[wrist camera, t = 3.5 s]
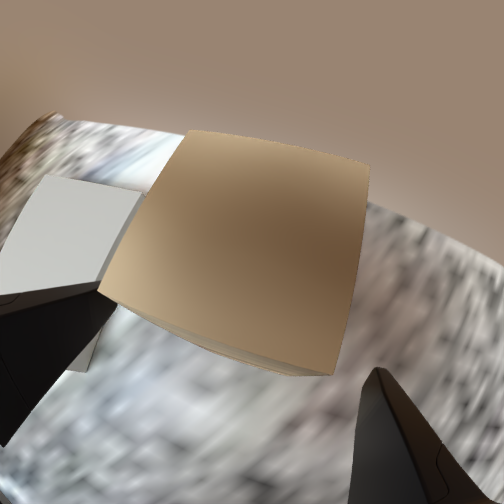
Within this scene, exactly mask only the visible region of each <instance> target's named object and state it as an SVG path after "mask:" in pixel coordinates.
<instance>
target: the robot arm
mask: <svg viewBox="0 0 504 504" xmlns="http://www.w3.org/2000/svg"><path fill="white" fill-rule="evenodd" d="M101 281H102V280H100V281H93V282H87V283H80V284H73V285H67V286H60V287H53V288H46V289H40V290H33V291H26V292H19V293H12V294H4V295H0V445H1V446H2V447H3V448H4V447H5V446H6V445H7V443H8V442H9V441H10V439H11V438H12V437H13V435H14V434H15V432H16V431H17V430H18V428H19V427H20V426H21V425H22V423H23V422H24V421H25V419H26V418H27V417H28V415H29V414H30V413H31V411H32V410H33V409H34V408H35V406H36V405H37V404H38V403H39V401H40V400H41V399H42V398H43V396H44V395H45V394H46V393H47V392H48V390H49V389H50V388H51V387H52V385H53V384H54V383H55V382H56V381H57V380H58V378H59V377H60V376H61V375H62V374H63V372H64V371H65V370H66V369H67V368H68V367H69V365H70V364H71V363H72V362H73V361H74V360H75V359H76V357H77V356H78V355H79V354H80V353H81V352H82V351H83V350H84V348H85V347H86V346H87V345H88V344H89V343H90V342H91V341H92V339H93V338H94V337H95V336H96V335H97V333H98V332H99V331H100V329H101V328H102V326H103V325H104V324H105V322H106V321H107V320H108V318H109V317H110V316H111V314H112V313H113V312H114V311H115V309H116V307H117V303H116V302H114V301H113V300H111V299H109V298H108V297H106V296H105V295H103V294H101V293H100V292H98V291H97V290H98V288H99V286H100V283H101ZM0 504H12V503H11V502H10V501H9V500H8V499H7V498H6V497H5V495H4V494H3V493H2V492H1V491H0ZM348 504H500V503H497V502H494V501H492V500H490V499H489V498H488V497H487V496H486V495H485V494H484V493H483V492H482V491H481V490H480V489H479V487H478V486H477V485H476V484H475V483H474V482H473V480H472V479H471V478H470V477H469V476H468V475H467V473H466V472H465V471H464V470H463V469H462V467H461V466H460V465H459V464H458V463H457V461H456V460H455V459H454V457H453V456H452V455H451V453H450V452H449V451H448V449H447V448H446V446H445V445H444V444H443V443H442V441H441V440H440V438H439V437H438V435H437V434H436V433H435V431H434V430H433V429H432V427H431V426H430V425H429V423H428V422H427V421H426V419H425V418H424V416H423V415H422V414H421V412H420V411H419V410H418V408H417V407H416V406H415V405H414V403H413V402H412V401H411V399H410V398H409V397H408V395H407V394H406V393H405V391H404V390H403V389H402V387H401V386H400V385H399V384H398V382H397V381H396V380H395V378H394V377H393V376H392V375H391V373H390V372H389V371H388V370H387V369H385V368H380V367H375V368H374V369H373V370H372V371H371V373H370V375H369V376H368V378H367V380H366V381H365V383H364V385H363V387H362V391H361V398H360V404H359V411H358V417H357V423H356V429H355V440H354V453H353V464H352V474H351V482H350V490H349V497H348Z"/></svg>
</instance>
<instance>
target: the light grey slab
mask: <svg viewBox="0 0 504 504" xmlns="http://www.w3.org/2000/svg"><path fill="white" fill-rule="evenodd" d="M144 199H145V196H144V195H143V193H142V192H138V191H133V190H128V189H123V188H118V187H113V186H107V185H102V184H97V183H92V182H86V181H81V180H75V179H69V178H64V177H58V176H52V175H46V174H45V176H44V177H43V179H42V180H41V182H40V183H39V185H38V186H37V188H36V189H35V191H34V192H33V194H32V195H31V197H30V199H29V200H28V202H27V204H26V205H25V207H24V209H23V210H22V212H21V214H20V216H19V217H18V219H17V221H16V223H15V225H14V226H13V228H12V230H11V232H10V234H9V236H8V238H7V240H6V242H5V244H4V246H3V248H2V250H1V252H0V295H4V294H12V293H19V292H26V291H33V290H40V289H46V288H53V287H60V286H67V285H73V284H80V283H87V282H93V281H100V280H102V279H103V277H104V275H105V273H106V270H107V268H108V266H109V264H110V262H111V260H112V258H113V256H114V254H115V252H116V250H117V248H118V246H119V244H120V242H121V240H122V238H123V236H124V235H125V233H126V231H127V229H128V227H129V225H130V223H131V222H132V220H133V218H134V216H135V214H136V213H137V211H138V209H139V207H140V206H141V204H142V202H143V201H144ZM102 327H103V326H102ZM101 329H102V328H101ZM101 329H100V331H99V332H98V333H97V335H96V336H95V337H94V338H93V339H92V341H91V342H90V343H89V344H88V345H87V346H86V347H85V348H84V350H83V351H82V352H81V353H80V354H79V355H78V356H77V357H76V359H75V360H74V361H73V362H72V363H71V364H70V365H69V367H68V368H67V369H66V370H70V371H77V372H84V373H86V371H87V368H88V365H89V362H90V359H91V356H92V354H93V351H94V348H95V345H96V343H97V340H98V337H99V335H100V332H101Z"/></svg>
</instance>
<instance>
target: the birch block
mask: <svg viewBox="0 0 504 504" xmlns="http://www.w3.org/2000/svg"><path fill="white" fill-rule="evenodd" d="M369 174H370V165H368V164H365V163H361V162H358V161H355V160H351V159H347V158H343V157H340V156H336V155H332V154H328V153H324V152H320V151H316V150H312V149H307V148H303V147H298V146H293V145H289V144H284V143H279V142H274V141H268V140H262V139H256V138H251V137H244V136H238V135H231V134H224V133H216V132H208V131H199V130H190V131H189V132H188V133H187V134H186V136H185V137H184V139H183V140H182V141H181V143H180V144H179V146H178V147H177V149H176V150H175V152H174V153H173V155H172V156H171V158H170V159H169V161H168V162H167V164H166V165H165V167H164V168H163V170H162V171H161V173H160V174H159V176H158V178H157V179H156V181H155V182H154V184H153V186H152V187H151V189H150V191H149V192H148V194H147V196H146V197H145V199H144V201H143V202H142V204H141V206H140V207H139V209H138V211H137V213H136V214H135V216H134V218H133V220H132V222H131V223H130V225H129V227H128V229H127V231H126V233H125V235H124V236H123V238H122V240H121V242H120V244H119V246H118V248H117V250H116V252H115V254H114V256H113V258H112V260H111V262H110V264H109V266H108V268H107V270H106V273H105V275H104V277H103V279H102V281H101V283H100V286H99V288H98V290H97V291H98V292H100V293H101V294H103V295H105V296H106V297H108V298H109V299H111V300H113V301H114V302H116V303H118V304H120V305H121V306H123V307H125V308H126V309H128V310H130V311H132V312H133V313H135V314H137V315H139V316H141V317H142V318H144V319H146V320H148V321H150V322H152V323H153V324H155V325H157V326H159V327H161V328H163V329H165V330H167V331H169V332H171V333H173V334H175V335H177V336H179V337H181V338H183V339H185V340H187V341H189V342H191V343H193V344H195V345H197V346H199V347H202V348H204V349H206V350H208V351H210V352H213V353H215V354H218V355H221V356H224V357H227V358H230V359H233V360H236V361H239V362H242V363H245V364H248V365H251V366H254V367H257V368H261V369H264V370H267V371H271V372H274V373H277V374H281V375H285V376H323V375H333V373H334V370H335V366H336V363H337V359H338V356H339V352H340V348H341V344H342V340H343V336H344V332H345V328H346V324H347V319H348V315H349V310H350V306H351V301H352V296H353V291H354V286H355V281H356V275H357V270H358V264H359V258H360V252H361V245H362V238H363V231H364V223H365V215H366V207H367V197H368V186H369Z"/></svg>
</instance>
